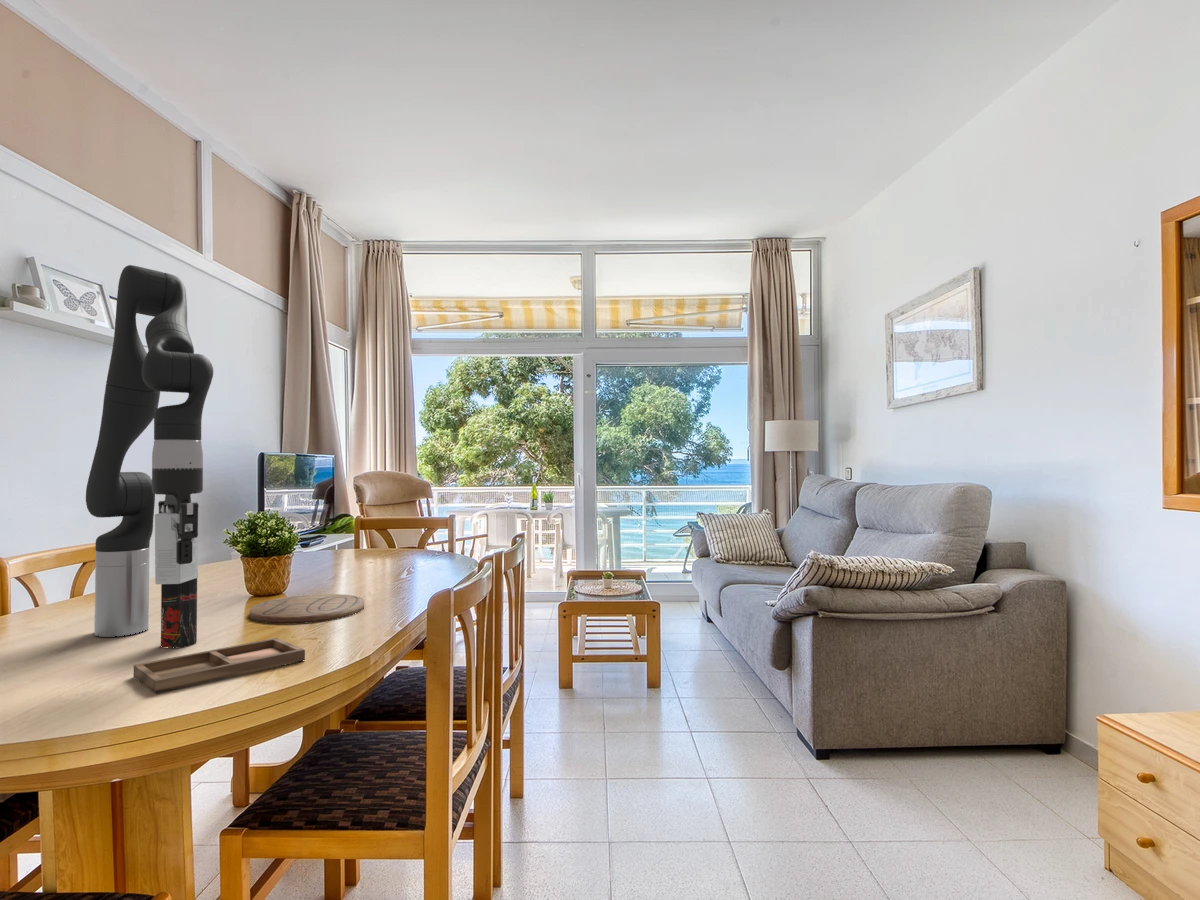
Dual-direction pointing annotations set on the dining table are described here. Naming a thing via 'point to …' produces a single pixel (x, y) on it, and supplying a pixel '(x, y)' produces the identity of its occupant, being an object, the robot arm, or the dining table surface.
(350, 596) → the trivet
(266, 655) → the two-section desk tray
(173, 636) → the deodorant
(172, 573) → the skincare box
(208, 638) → the dining table surface
